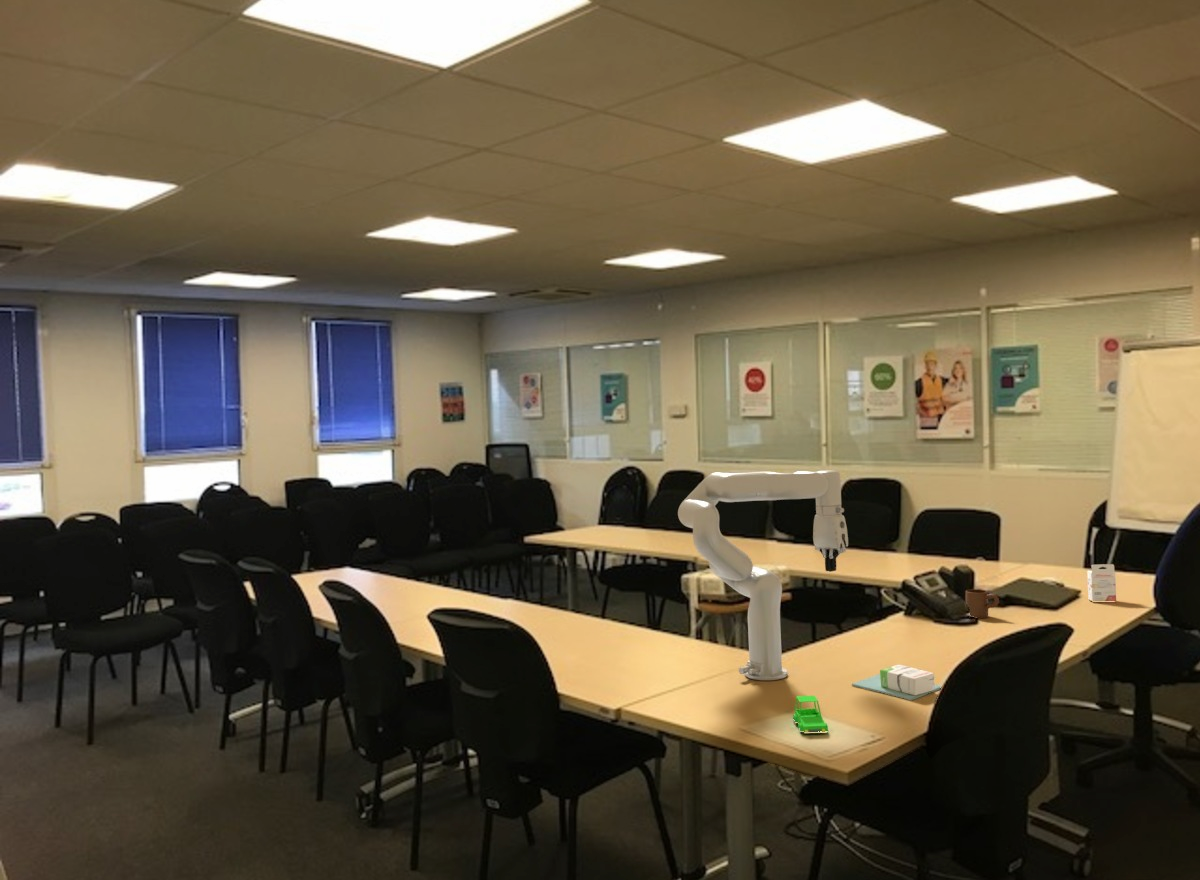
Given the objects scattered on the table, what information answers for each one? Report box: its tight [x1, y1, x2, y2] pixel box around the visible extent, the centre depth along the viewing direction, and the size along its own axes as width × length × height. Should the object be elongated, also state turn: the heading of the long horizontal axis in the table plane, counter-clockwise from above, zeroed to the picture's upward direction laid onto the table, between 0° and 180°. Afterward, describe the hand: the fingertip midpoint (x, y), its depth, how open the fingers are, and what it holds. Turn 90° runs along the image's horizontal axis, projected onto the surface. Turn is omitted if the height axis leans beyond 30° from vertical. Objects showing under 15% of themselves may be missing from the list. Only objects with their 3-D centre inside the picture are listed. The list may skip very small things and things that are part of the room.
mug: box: [965, 588, 1000, 619], centre depth 335 cm, size 12×8×9 cm, turn 40°
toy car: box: [792, 695, 829, 732], centre depth 229 cm, size 11×7×7 cm, turn 179°
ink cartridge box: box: [1086, 563, 1117, 602], centre depth 352 cm, size 9×5×15 cm, turn 80°
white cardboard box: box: [879, 664, 935, 695], centre depth 254 cm, size 9×5×12 cm
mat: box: [851, 673, 942, 701], centre depth 258 cm, size 15×19×1 cm
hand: (830, 570), depth 282 cm, fingers closed
